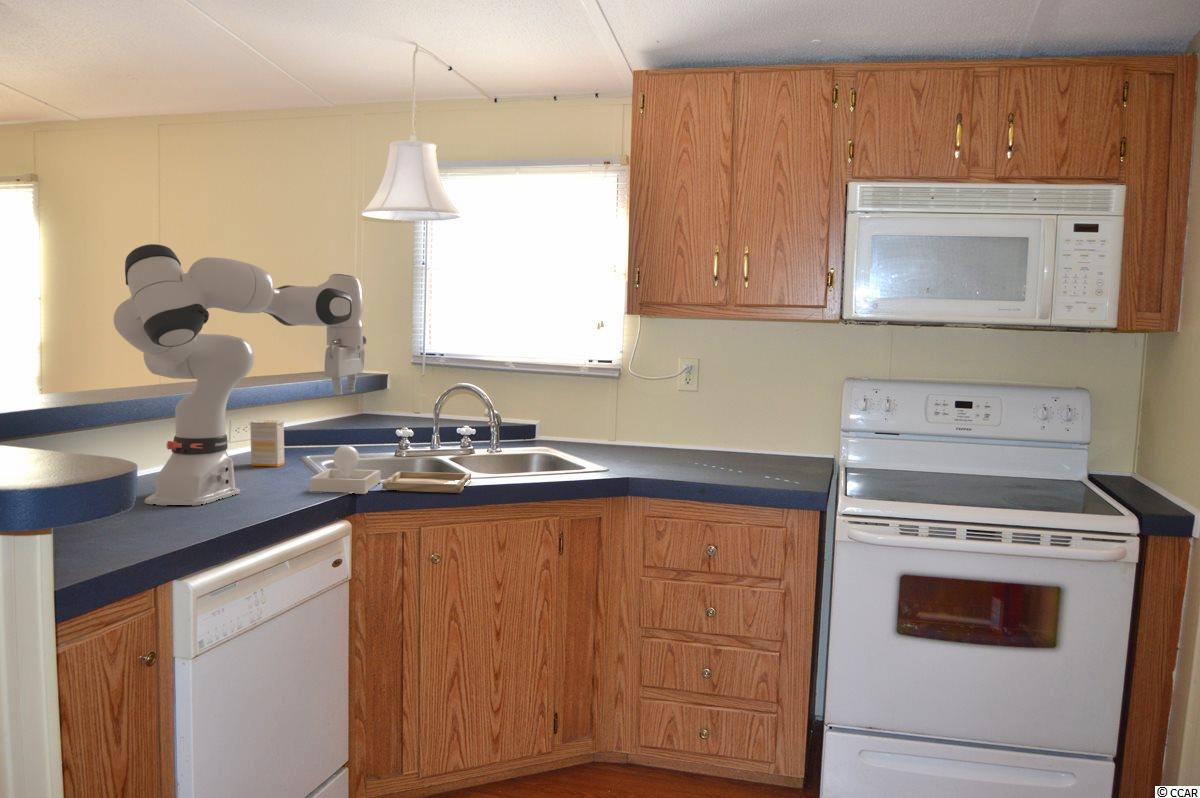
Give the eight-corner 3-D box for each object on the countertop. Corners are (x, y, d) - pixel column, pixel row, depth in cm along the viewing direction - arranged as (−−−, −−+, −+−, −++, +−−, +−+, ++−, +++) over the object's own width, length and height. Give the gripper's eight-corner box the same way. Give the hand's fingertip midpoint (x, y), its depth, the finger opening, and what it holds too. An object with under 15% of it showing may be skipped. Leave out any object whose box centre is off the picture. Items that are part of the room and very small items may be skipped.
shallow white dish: (365, 493, 217) (365, 480, 217) (309, 492, 217) (309, 478, 217) (380, 483, 231) (380, 470, 231) (328, 481, 231) (328, 468, 231)
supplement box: (285, 464, 255) (284, 420, 254) (277, 467, 250) (277, 422, 249) (258, 463, 256) (257, 419, 254) (250, 466, 251) (249, 421, 250)
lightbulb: (349, 484, 229) (349, 442, 228) (363, 487, 225) (364, 445, 224) (328, 487, 224) (328, 445, 223) (342, 491, 220) (342, 448, 219)
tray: (460, 492, 222) (460, 484, 221) (382, 490, 222) (382, 482, 222) (470, 481, 238) (471, 473, 237) (398, 478, 238) (398, 471, 238)
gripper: (343, 340, 211) (343, 397, 212) (368, 338, 231) (368, 390, 232) (317, 339, 211) (317, 396, 212) (345, 337, 231) (345, 389, 232)
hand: (344, 392), depth 222 cm, fingers open, 8 cm apart
